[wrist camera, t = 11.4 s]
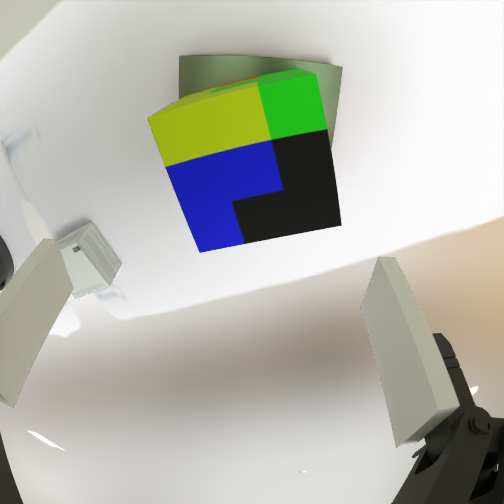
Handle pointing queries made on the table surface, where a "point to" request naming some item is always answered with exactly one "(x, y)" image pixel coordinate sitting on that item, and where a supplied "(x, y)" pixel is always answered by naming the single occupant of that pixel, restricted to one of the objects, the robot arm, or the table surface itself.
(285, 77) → the puzzle toy
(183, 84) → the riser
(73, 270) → the small box
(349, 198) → the table surface
